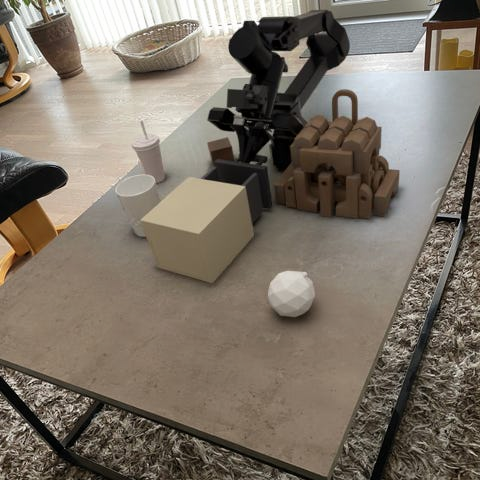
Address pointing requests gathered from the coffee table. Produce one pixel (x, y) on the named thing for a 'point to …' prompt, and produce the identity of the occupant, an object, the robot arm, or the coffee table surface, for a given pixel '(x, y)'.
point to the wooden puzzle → (338, 167)
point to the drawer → (246, 181)
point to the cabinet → (199, 228)
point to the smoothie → (149, 154)
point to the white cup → (138, 199)
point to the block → (220, 150)
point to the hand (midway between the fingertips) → (243, 166)
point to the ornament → (291, 293)
